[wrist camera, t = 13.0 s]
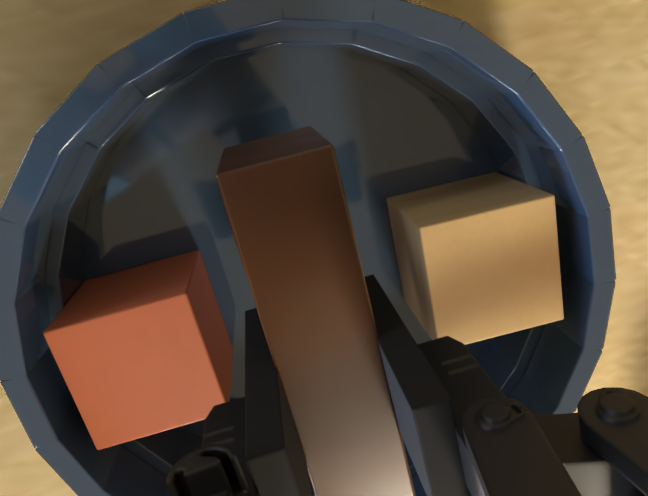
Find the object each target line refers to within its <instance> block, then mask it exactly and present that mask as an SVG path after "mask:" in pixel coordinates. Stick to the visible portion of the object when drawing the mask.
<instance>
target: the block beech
mask: <svg viewBox="0 0 648 496" xmlns="http://www.w3.org/2000/svg"><path fill="white" fill-rule="evenodd" d="M386 201H387V206H388V212H389V217H390V223H391V229H392V234H393V240H394V245H395V251H396V256H397V262H398V268H399V273H400V279H401V284H402V290H403V296H404V300H405V302H406V303H407V305H408V306H409V307H410V309H411V310H412V312H413V313H414V315H415V316H416V318H417V319H418V321H419V322H420V323H421V325H422V326H423V328H424V329H425V331H426V332H427V334H428V335H429V336H430V338H431V339H432V340H434V339H438V338H441V337H444V336H449V337H451V338H453V339H455V340H458V341H460V342H462V343H463V344H464V345H466V344H470V343H474V342H478V341H481V340H485V339H489V338H493V337H497V336H501V335H505V334H509V333H512V332H516V331H520V330H524V329H528V328H532V327H536V326H540V325H544V324H547V323H551V322H555V321H559V320H563V319H564V312H563V299H562V286H561V273H560V260H559V247H558V234H557V221H556V208H555V196H554V195H553V194H550V193H548V192H545V191H543V190H540V189H537V188H535V187H532V186H530V185H527V184H525V183H522V182H520V181H517V180H514V179H512V178H509V177H507V176H504V175H502V174H499V173H496V172H492V173H488V174H484V175H480V176H476V177H472V178H467V179H463V180H459V181H455V182H451V183H446V184H442V185H438V186H434V187H430V188H426V189H421V190H417V191H413V192H409V193H405V194H401V195H396V196H392V197H388V198H387V199H386Z"/></svg>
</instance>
